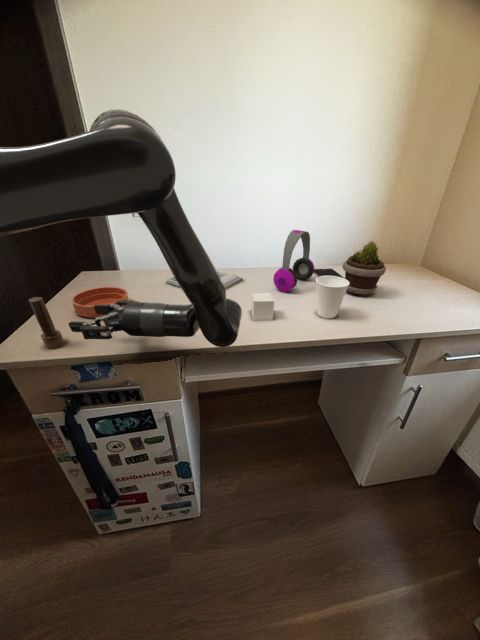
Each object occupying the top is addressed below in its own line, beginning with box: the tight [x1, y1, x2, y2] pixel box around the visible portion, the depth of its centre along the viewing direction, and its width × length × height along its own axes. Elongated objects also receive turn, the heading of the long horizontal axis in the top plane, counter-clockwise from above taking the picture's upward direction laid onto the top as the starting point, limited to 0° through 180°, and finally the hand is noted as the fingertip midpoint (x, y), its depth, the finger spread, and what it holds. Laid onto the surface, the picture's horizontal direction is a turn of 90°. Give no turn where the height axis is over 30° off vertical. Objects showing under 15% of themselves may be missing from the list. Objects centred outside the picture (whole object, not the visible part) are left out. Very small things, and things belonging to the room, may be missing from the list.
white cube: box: [251, 292, 275, 321], centre depth 86 cm, size 6×6×6 cm
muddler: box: [28, 296, 65, 350], centre depth 66 cm, size 4×4×12 cm
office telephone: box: [165, 271, 243, 290], centre depth 109 cm, size 23×3×20 cm
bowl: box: [70, 286, 131, 319], centre depth 86 cm, size 15×15×4 cm
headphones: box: [272, 229, 315, 293], centre depth 105 cm, size 21×9×20 cm, turn 148°
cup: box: [315, 276, 350, 319], centre depth 86 cm, size 10×10×11 cm
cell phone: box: [313, 268, 345, 279], centre depth 119 cm, size 9×18×1 cm, turn 12°
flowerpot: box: [341, 239, 387, 298], centre depth 101 cm, size 14×15×20 cm
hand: (83, 317), depth 64 cm, fingers open, 8 cm apart
